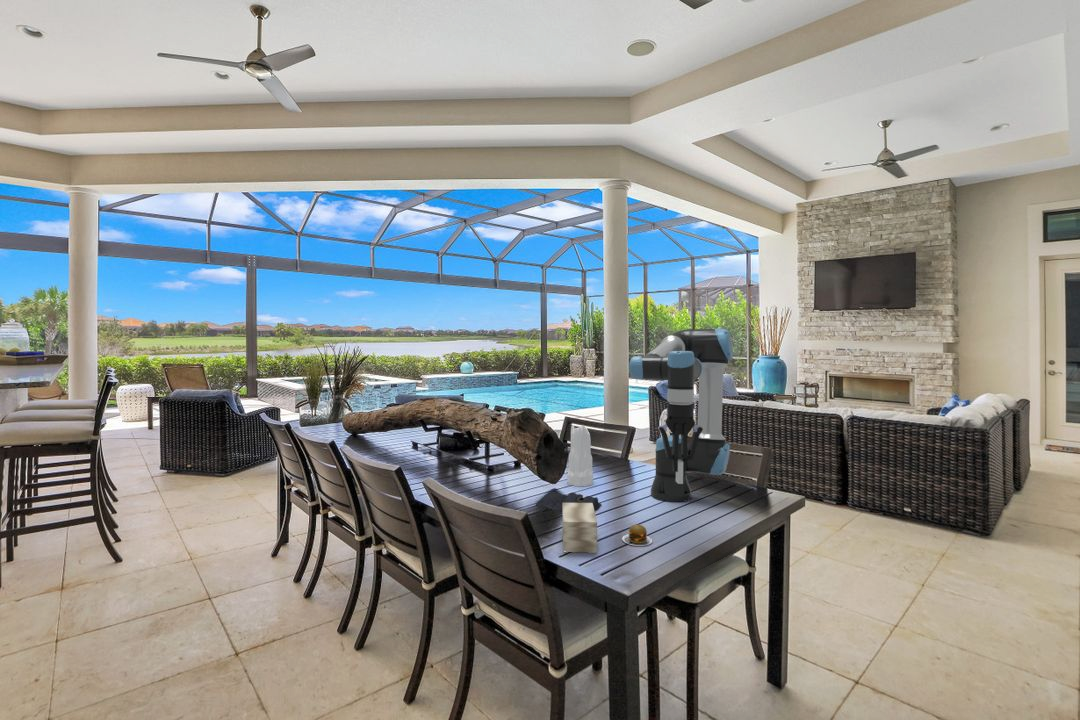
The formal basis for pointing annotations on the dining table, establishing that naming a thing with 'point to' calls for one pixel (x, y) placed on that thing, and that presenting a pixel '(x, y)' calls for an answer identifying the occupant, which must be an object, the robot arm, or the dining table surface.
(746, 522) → the dining table surface
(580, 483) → the decorative vase
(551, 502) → the dark slate chunk
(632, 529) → the hamburger
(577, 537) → the beige paper bag
